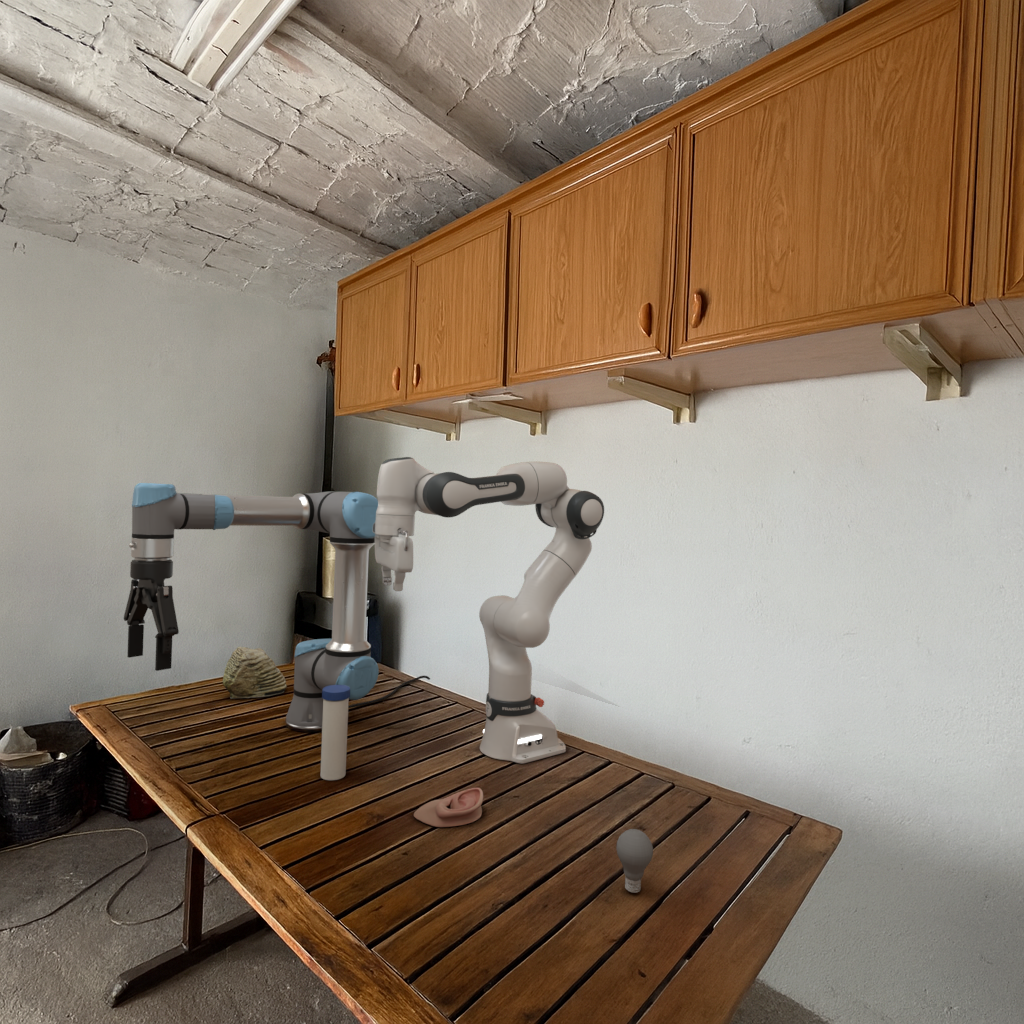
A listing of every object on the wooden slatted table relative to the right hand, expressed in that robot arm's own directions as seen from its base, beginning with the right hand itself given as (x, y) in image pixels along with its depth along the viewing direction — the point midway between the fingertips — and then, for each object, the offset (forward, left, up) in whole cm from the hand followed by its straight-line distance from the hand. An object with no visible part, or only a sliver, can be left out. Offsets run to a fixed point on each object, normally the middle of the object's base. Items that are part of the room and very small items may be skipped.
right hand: (392, 587), depth 145 cm
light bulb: (-27, +58, -43) cm, 77 cm away
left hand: (+48, -5, -15) cm, 51 cm away
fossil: (+24, -69, -43) cm, 85 cm away
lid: (+11, -4, -24) cm, 26 cm away
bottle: (+11, -3, -43) cm, 45 cm away
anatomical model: (-7, +23, -43) cm, 49 cm away
